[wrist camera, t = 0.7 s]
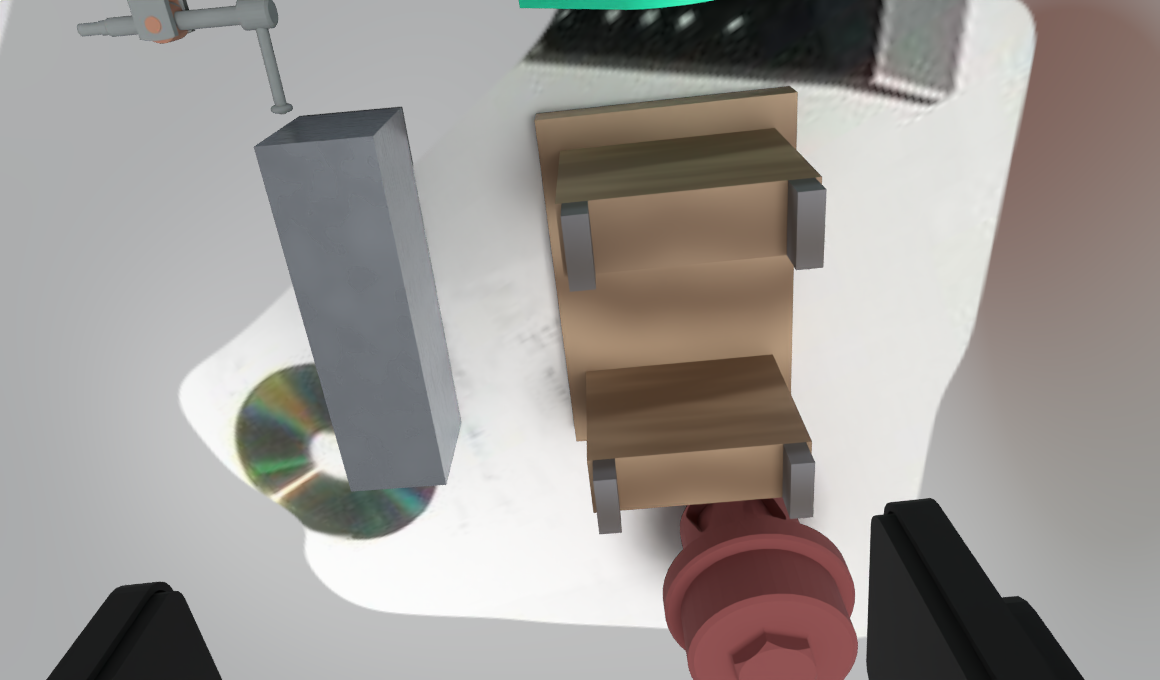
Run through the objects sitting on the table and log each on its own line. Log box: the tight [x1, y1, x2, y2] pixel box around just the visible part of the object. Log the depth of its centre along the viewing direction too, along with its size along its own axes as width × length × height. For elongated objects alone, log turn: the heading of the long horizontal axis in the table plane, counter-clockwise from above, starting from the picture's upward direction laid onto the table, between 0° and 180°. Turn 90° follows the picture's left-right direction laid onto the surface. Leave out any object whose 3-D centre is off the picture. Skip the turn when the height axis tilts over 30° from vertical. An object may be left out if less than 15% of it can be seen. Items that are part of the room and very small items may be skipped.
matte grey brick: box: [254, 107, 461, 491], centre depth 39 cm, size 18×5×6 cm, turn 5°
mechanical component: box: [663, 497, 858, 680], centre depth 43 cm, size 12×10×10 cm
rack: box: [535, 86, 826, 534], centre depth 36 cm, size 18×12×11 cm, turn 6°
